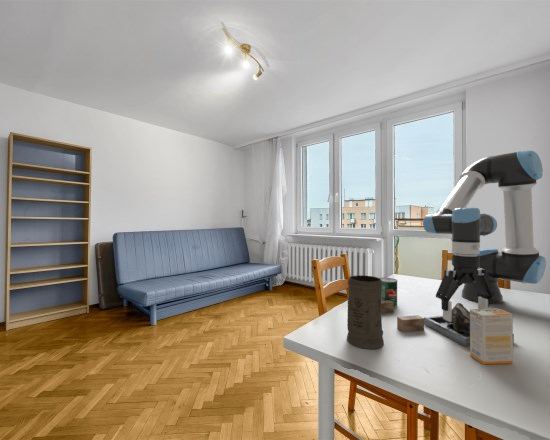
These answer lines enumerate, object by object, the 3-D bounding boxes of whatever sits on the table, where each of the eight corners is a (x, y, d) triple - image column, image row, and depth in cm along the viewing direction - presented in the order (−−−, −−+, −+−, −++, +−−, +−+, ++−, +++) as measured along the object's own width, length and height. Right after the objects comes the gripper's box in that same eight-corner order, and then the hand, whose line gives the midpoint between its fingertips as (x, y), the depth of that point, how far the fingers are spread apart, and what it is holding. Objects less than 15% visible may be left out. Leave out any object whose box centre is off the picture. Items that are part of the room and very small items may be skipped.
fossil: (495, 336, 82) (479, 307, 82) (466, 347, 83) (450, 319, 84) (476, 321, 92) (461, 295, 93) (450, 331, 94) (435, 306, 94)
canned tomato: (394, 309, 111) (394, 282, 111) (375, 305, 115) (375, 280, 115) (399, 304, 117) (399, 279, 117) (380, 300, 122) (380, 276, 122)
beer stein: (379, 354, 74) (380, 282, 75) (341, 344, 80) (343, 277, 81) (388, 336, 87) (389, 275, 88) (355, 329, 93) (356, 271, 94)
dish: (465, 320, 98) (465, 314, 98) (513, 342, 81) (513, 334, 81) (423, 324, 95) (423, 317, 95) (465, 347, 78) (465, 338, 78)
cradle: (389, 309, 110) (389, 300, 110) (424, 330, 90) (424, 318, 90) (371, 311, 108) (371, 301, 108) (402, 331, 89) (402, 320, 89)
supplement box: (497, 354, 74) (497, 307, 74) (513, 364, 69) (514, 314, 69) (468, 355, 74) (468, 308, 74) (482, 364, 69) (483, 314, 69)
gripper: (441, 257, 82) (440, 326, 82) (509, 255, 86) (508, 320, 87) (423, 254, 89) (423, 317, 90) (486, 252, 94) (486, 312, 94)
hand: (465, 318), depth 88 cm, fingers open, 13 cm apart
